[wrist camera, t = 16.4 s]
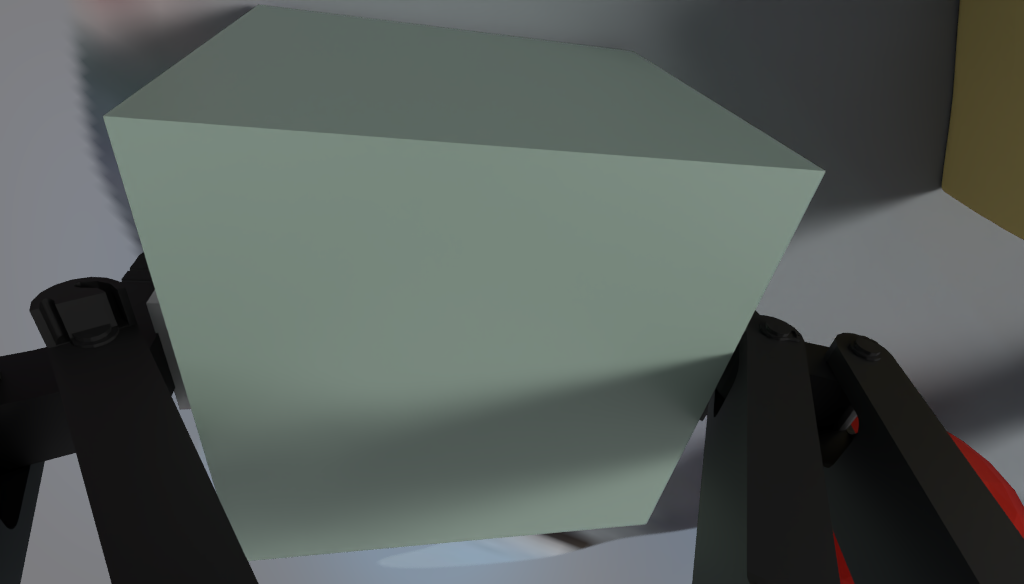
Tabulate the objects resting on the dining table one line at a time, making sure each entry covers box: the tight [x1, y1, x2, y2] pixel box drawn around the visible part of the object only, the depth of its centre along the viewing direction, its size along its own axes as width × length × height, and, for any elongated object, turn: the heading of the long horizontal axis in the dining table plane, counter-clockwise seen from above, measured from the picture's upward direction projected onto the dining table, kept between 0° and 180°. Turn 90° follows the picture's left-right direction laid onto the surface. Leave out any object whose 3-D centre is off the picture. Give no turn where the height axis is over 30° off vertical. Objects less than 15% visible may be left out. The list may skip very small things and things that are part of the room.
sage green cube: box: [103, 5, 826, 561], centre depth 14 cm, size 10×10×9 cm
